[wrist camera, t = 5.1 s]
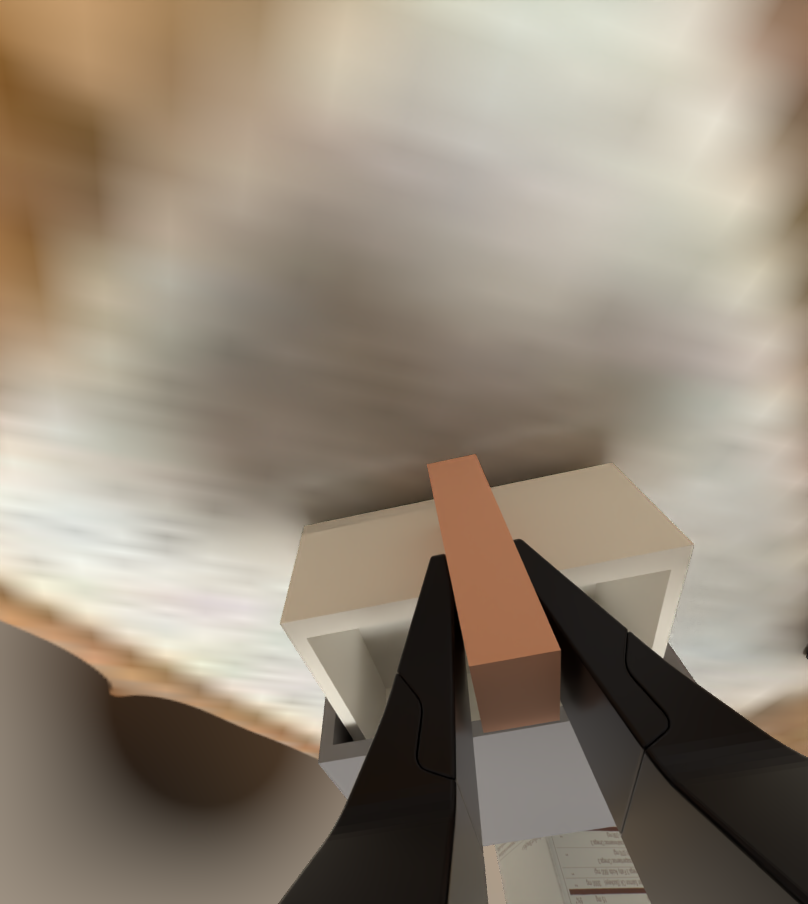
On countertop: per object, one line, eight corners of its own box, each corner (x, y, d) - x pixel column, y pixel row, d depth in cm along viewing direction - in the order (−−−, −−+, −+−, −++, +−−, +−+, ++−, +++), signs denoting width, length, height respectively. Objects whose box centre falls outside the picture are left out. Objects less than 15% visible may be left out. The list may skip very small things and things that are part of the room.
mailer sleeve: (613, 564, 18) (706, 697, 13) (597, 697, 25) (654, 820, 20) (334, 617, 19) (318, 763, 14) (391, 732, 26) (395, 859, 20)
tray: (618, 400, 13) (882, 591, 6) (594, 646, 21) (700, 851, 14) (279, 473, 14) (181, 718, 7) (379, 685, 21) (379, 898, 15)
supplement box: (558, 777, 32) (652, 1063, 21) (478, 774, 30) (534, 1078, 19) (605, 737, 28) (748, 1055, 17) (517, 730, 27) (612, 1073, 16)
